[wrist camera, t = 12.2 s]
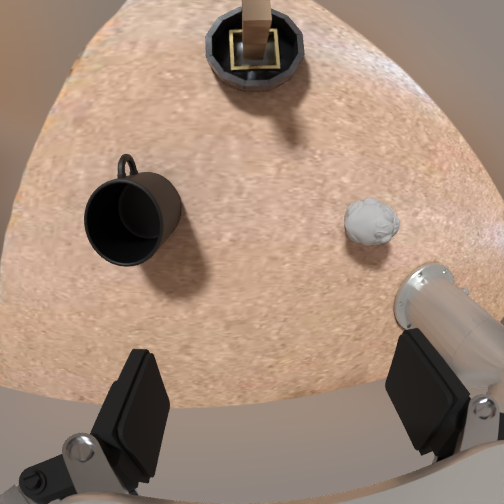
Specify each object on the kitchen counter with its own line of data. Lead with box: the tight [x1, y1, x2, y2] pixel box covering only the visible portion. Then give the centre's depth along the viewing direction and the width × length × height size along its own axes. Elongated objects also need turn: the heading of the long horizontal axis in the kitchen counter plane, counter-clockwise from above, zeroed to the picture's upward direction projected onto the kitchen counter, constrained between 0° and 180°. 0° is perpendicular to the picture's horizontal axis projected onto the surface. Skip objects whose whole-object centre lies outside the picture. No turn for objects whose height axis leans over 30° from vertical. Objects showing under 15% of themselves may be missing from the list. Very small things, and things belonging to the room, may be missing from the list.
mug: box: [84, 154, 181, 267], centre depth 31 cm, size 9×12×9 cm
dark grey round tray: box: [205, 7, 304, 92], centre depth 28 cm, size 11×11×4 cm
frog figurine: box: [344, 198, 399, 246], centre depth 34 cm, size 6×7×7 cm
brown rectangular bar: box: [242, 0, 272, 60], centre depth 23 cm, size 2×3×12 cm
